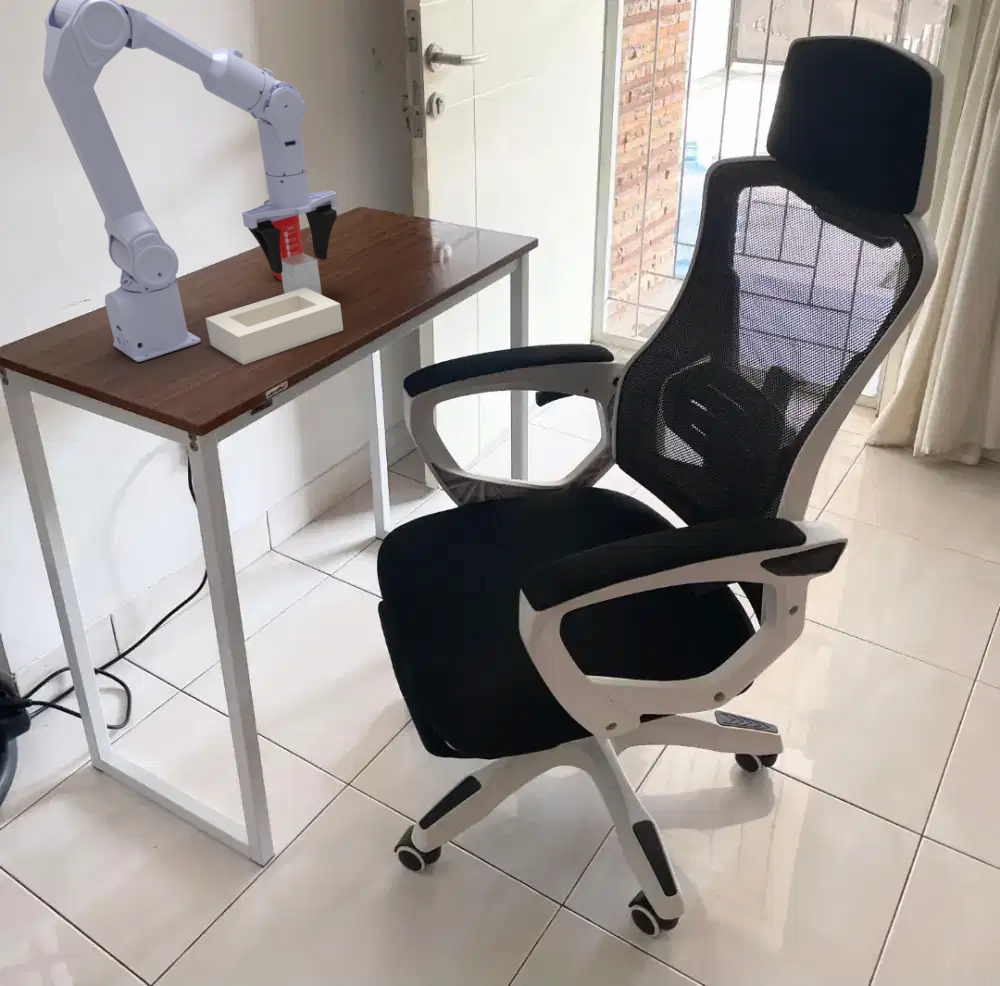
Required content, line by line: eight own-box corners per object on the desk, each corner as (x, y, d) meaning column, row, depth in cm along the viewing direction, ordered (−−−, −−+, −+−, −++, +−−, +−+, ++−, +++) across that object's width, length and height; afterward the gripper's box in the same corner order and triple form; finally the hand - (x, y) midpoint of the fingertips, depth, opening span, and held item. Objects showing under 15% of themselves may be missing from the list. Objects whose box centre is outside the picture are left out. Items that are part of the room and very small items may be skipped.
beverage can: (299, 282, 159) (288, 207, 152) (269, 280, 160) (257, 205, 153) (311, 271, 163) (301, 197, 157) (281, 269, 164) (270, 196, 158)
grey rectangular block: (300, 311, 149) (293, 266, 145) (285, 304, 151) (279, 259, 148) (323, 304, 151) (317, 259, 147) (308, 297, 153) (302, 252, 150)
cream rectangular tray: (243, 364, 133) (238, 337, 131) (210, 345, 139) (205, 318, 137) (343, 330, 142) (340, 303, 140) (308, 313, 148) (305, 287, 146)
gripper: (254, 187, 134) (270, 284, 141) (344, 165, 142) (355, 258, 149) (228, 177, 138) (245, 272, 146) (317, 157, 146) (328, 247, 154)
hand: (299, 264), depth 148 cm, fingers open, 7 cm apart
